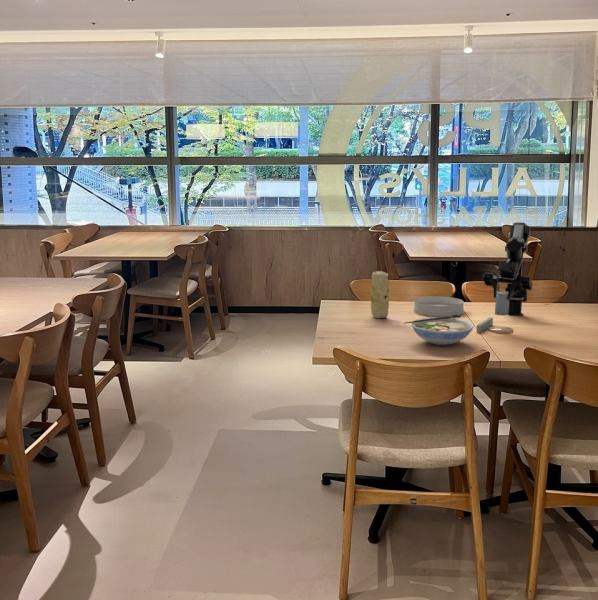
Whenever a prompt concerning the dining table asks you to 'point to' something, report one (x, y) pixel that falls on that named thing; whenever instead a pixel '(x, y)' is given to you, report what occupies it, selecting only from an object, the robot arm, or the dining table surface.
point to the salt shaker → (501, 303)
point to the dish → (438, 306)
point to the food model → (379, 294)
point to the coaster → (500, 329)
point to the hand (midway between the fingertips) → (501, 298)
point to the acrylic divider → (484, 325)
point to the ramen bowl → (442, 329)
